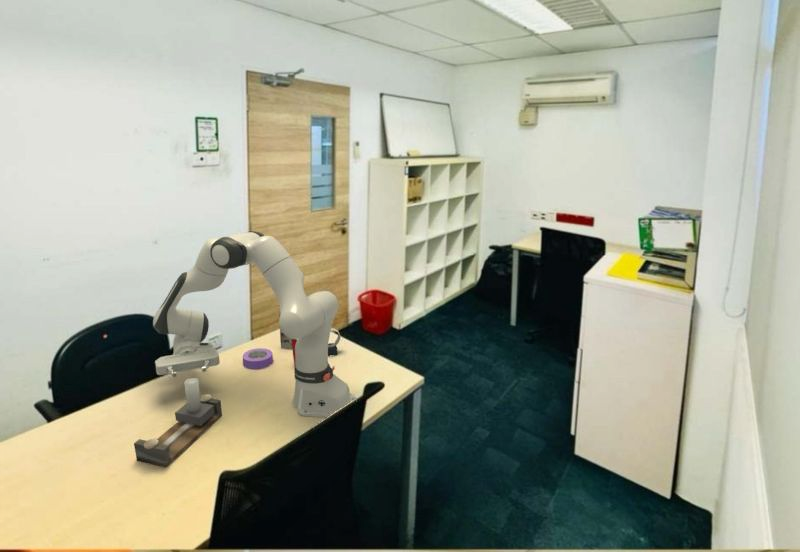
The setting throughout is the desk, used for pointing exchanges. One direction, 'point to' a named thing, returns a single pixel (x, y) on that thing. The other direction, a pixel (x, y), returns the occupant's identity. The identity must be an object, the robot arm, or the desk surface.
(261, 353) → the masking tape
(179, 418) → the carriage
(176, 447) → the rail
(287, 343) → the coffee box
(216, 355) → the robot arm
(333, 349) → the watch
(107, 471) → the desk surface
